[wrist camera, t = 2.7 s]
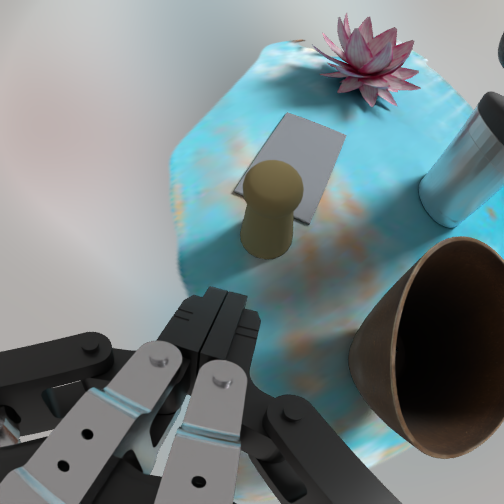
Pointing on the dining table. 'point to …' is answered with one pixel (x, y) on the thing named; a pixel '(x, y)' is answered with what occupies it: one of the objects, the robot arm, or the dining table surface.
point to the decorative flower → (371, 62)
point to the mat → (303, 157)
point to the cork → (270, 208)
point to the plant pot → (438, 350)
